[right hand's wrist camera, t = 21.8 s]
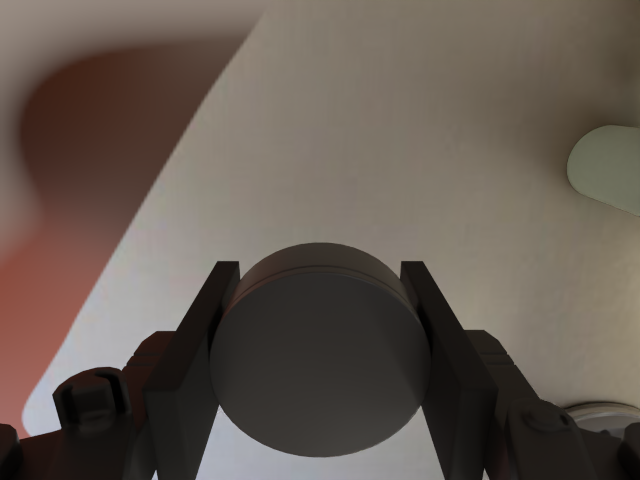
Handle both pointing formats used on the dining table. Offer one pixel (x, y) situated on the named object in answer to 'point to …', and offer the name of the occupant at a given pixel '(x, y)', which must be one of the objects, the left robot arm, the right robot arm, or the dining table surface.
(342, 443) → the lid
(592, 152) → the pale green cylinder
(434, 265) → the dining table surface
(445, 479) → the right robot arm
